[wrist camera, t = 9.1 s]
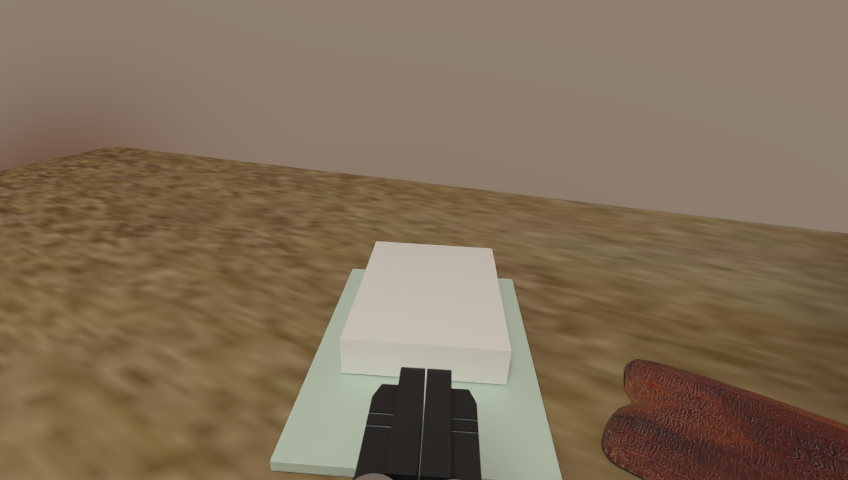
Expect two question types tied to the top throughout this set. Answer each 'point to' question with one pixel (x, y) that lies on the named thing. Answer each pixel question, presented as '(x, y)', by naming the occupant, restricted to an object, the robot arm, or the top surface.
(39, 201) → the top surface
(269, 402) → the top surface
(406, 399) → the robot arm
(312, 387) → the cutting board
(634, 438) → the wooden tablet
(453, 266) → the white rectangular block
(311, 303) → the top surface
